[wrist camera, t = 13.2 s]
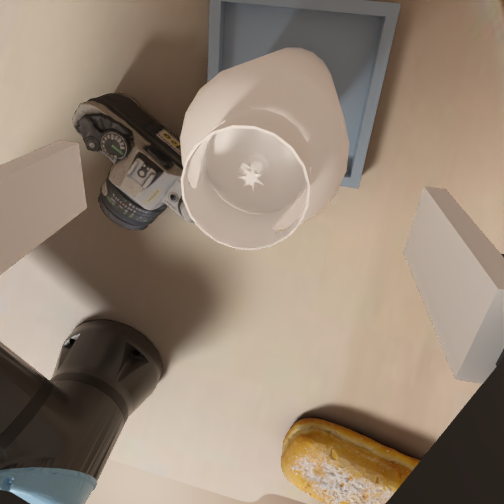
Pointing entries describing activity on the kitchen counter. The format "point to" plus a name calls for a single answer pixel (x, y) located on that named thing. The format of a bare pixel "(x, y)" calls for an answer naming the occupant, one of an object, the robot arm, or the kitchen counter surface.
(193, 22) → the kitchen counter surface
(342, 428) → the bread
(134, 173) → the camera
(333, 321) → the kitchen counter surface
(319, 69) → the bottle
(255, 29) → the tray
